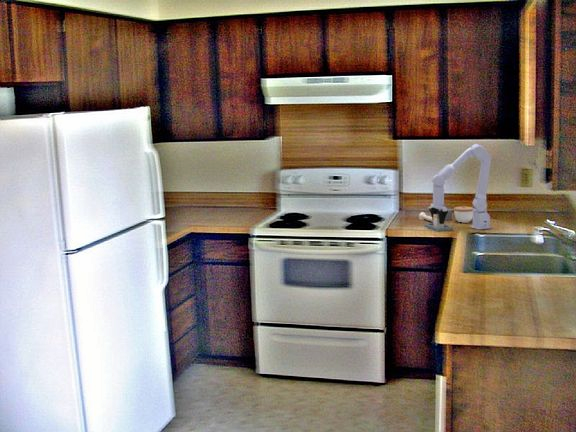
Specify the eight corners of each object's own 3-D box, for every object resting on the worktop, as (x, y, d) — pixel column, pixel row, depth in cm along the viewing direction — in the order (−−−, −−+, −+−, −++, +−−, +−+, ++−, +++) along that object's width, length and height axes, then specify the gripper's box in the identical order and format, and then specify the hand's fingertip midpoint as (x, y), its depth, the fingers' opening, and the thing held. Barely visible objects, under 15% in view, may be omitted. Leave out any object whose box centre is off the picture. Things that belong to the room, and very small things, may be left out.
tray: (452, 229, 395) (452, 227, 394) (437, 231, 392) (437, 228, 392) (439, 225, 409) (439, 222, 409) (424, 226, 406) (424, 223, 406)
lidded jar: (450, 221, 419) (450, 204, 417) (466, 219, 423) (466, 202, 421) (460, 224, 409) (461, 207, 407) (477, 222, 413) (477, 205, 411)
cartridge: (443, 227, 399) (443, 214, 398) (436, 228, 398) (437, 215, 397) (440, 226, 403) (440, 213, 402) (433, 227, 402) (433, 214, 401)
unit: (452, 220, 421) (452, 209, 419) (438, 221, 418) (438, 211, 417) (447, 218, 426) (447, 208, 425) (433, 220, 424) (433, 209, 423)
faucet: (425, 227, 429) (422, 210, 431) (440, 221, 413) (437, 204, 414) (419, 227, 428) (416, 210, 430) (434, 222, 412) (431, 204, 413)
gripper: (425, 196, 403) (425, 220, 406) (438, 199, 390) (438, 225, 392) (437, 195, 405) (437, 219, 408) (450, 198, 392) (450, 224, 394)
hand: (438, 222), depth 400 cm, fingers open, 7 cm apart
